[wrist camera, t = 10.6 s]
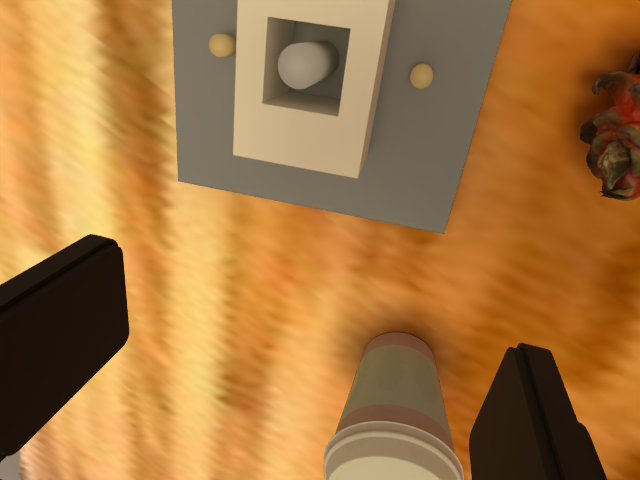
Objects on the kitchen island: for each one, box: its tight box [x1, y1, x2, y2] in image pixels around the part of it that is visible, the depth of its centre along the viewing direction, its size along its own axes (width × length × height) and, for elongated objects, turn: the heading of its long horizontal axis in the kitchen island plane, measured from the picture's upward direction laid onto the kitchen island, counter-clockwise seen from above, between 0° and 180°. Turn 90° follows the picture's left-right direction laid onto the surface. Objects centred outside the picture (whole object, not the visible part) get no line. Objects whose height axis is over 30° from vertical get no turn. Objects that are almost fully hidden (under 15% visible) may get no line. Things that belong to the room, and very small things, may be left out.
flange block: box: [233, 0, 396, 179], centre depth 23 cm, size 10×7×5 cm
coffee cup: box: [323, 332, 464, 480], centre depth 30 cm, size 9×9×12 cm
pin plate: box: [172, 0, 512, 234], centre depth 23 cm, size 19×19×7 cm
